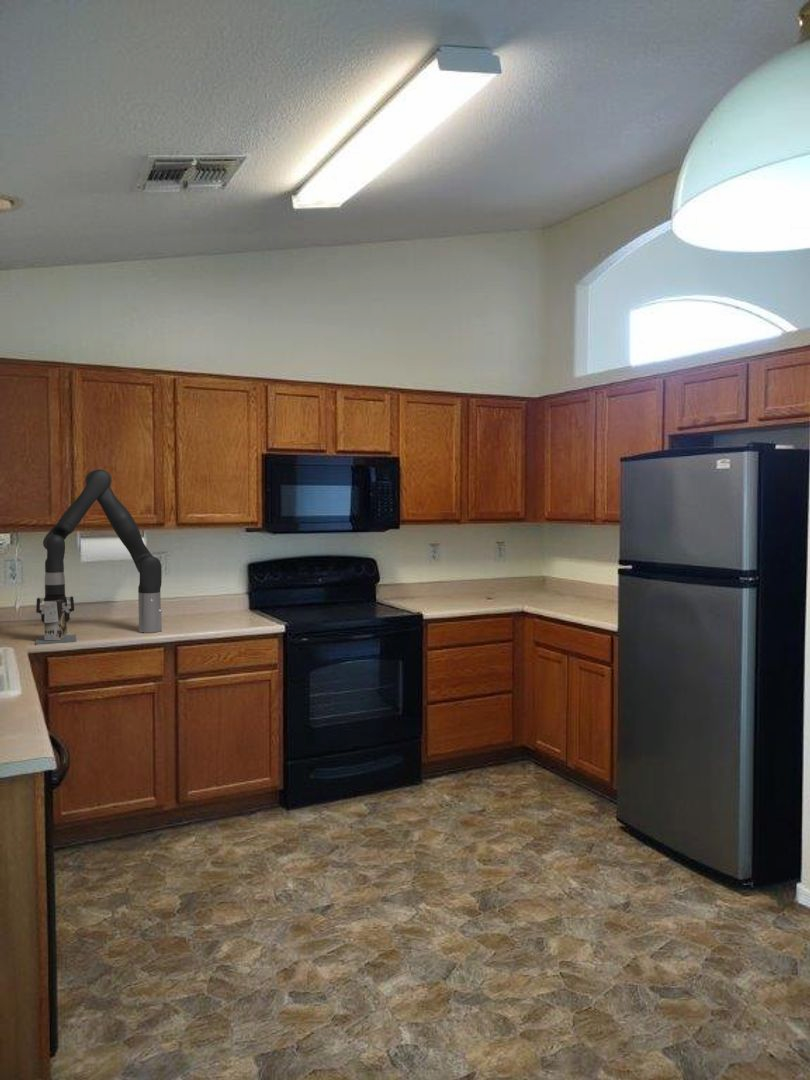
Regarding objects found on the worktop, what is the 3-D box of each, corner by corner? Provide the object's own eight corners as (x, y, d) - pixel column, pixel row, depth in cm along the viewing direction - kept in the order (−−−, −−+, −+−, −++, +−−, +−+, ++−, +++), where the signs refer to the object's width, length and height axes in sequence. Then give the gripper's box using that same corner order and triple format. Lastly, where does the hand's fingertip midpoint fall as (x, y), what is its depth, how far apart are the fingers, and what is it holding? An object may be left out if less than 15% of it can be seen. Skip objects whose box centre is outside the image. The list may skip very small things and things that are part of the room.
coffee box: (60, 640, 317) (60, 601, 316) (43, 640, 317) (43, 601, 316) (67, 636, 326) (67, 598, 325) (51, 636, 326) (51, 598, 325)
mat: (75, 636, 331) (75, 634, 331) (76, 641, 318) (76, 640, 318) (36, 638, 325) (36, 637, 325) (35, 644, 312) (35, 643, 312)
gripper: (35, 584, 314) (36, 624, 315) (73, 583, 320) (74, 622, 321) (35, 582, 321) (36, 622, 322) (73, 581, 326) (74, 620, 327)
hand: (55, 622), depth 321 cm, fingers open, 8 cm apart
